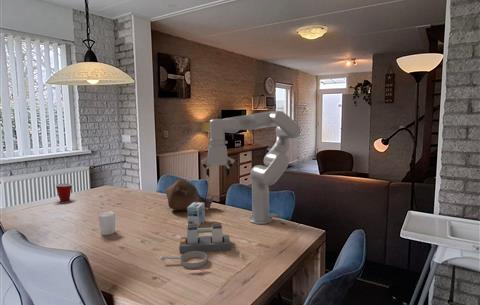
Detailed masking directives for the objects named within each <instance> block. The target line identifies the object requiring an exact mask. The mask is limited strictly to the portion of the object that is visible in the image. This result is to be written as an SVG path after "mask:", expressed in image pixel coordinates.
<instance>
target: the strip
mask: <svg viewBox="0 0 480 305" xmlns="http://www.w3.org/2000/svg"><path fill="white" fill-rule="evenodd" d="M178 248H179V249H178V250H179V254H185V253H187V252H191V251H201V252H204V253H207V252H208V253H209V252H210V253H211V252H227V251H231V249H232V248H231V239H230V235H229V234H225V235H224V234H222V242H218V243H212V236H209V235H198V244H187V236H182V237H180V242H179V247H178Z"/></svg>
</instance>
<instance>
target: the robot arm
mask: <svg viewBox="0 0 480 305" xmlns="http://www.w3.org/2000/svg"><path fill="white" fill-rule="evenodd" d="M271 127H273V128H274V127H276V128H275V136H276V139H275V143H274V144H273V145H272V147H271V148H270V149H269V151H268V152H267V153H266V154H265V156H264V158H263V164H264V165H262V164H258V165H257V164H256V165H255V166H253V167H252V168H251V170H250V176H249V177H250V181H251V216H250V217H249V220H248V221H250V222H251V223H252V224H257V225H265V224H269V223H271V222H272V221H273V220H272V218H278V213H274V212H272V213H270V188H269V187H270V186H272V185H274V184H275V183H277V181H278V180H280V178H281V176H282V175H283V174H284V173H285V171H286V170H287V168H288V166H289V165H290V159H289V156H288V154H287V153H288V151H289V148H290V139H297V138H298V137H299V136H300V134H301V131H302V130H301V128H300V125H299V124H298V122H296V121H295V120H294V119H292V117H290V116H289V115H288V114H287V113H286V112H284V111H282V110H272V111H271V110H270V111H263V112H257V113H250V114H245V115H244V114H243V115H237V116H231V117H225V118H212V119H210V120H209V145H208V146H207V157H204V158H202V159H201V160H200V163H201V164H202V166H203V167H204V168H205V169H206V170H205V171H206V176H207V177H208V178H210V167H211V166H215V167H216V166H218V167H219V166H225V167H226V169H225V172H226V175H225V176H226V177H229V175H230V168H231V167H232V166H233V165H234V163H235V162H236V161H235V159H234V158H231V157H229V156H228V149H227V145H226V144H228V142H229V141H228V140H226V136H225V133H229V134H235V133H238V132H239V131H242V130H243V131H244V130H246V131H247V130H248V131H252V130H258V129H259V130H261V129H264V128H265V129H266V128H271ZM206 161H207V165H206V164H205V162H206ZM228 161H230V163H229V164H228Z"/></svg>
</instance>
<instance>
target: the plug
mask: <svg viewBox="0 0 480 305" xmlns="http://www.w3.org/2000/svg"><path fill="white" fill-rule="evenodd" d="M211 228H212V231H211V235H212V243H218V242H222V235H223V226H222V223H221V222H216V223H215V222H214V223H212V225H211Z"/></svg>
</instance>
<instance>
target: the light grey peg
mask: <svg viewBox="0 0 480 305" xmlns="http://www.w3.org/2000/svg"><path fill="white" fill-rule="evenodd" d="M198 228H199V226H197V224H191V225H188V224H187V228H186V237H187V244H198V236H199V232H198Z"/></svg>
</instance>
